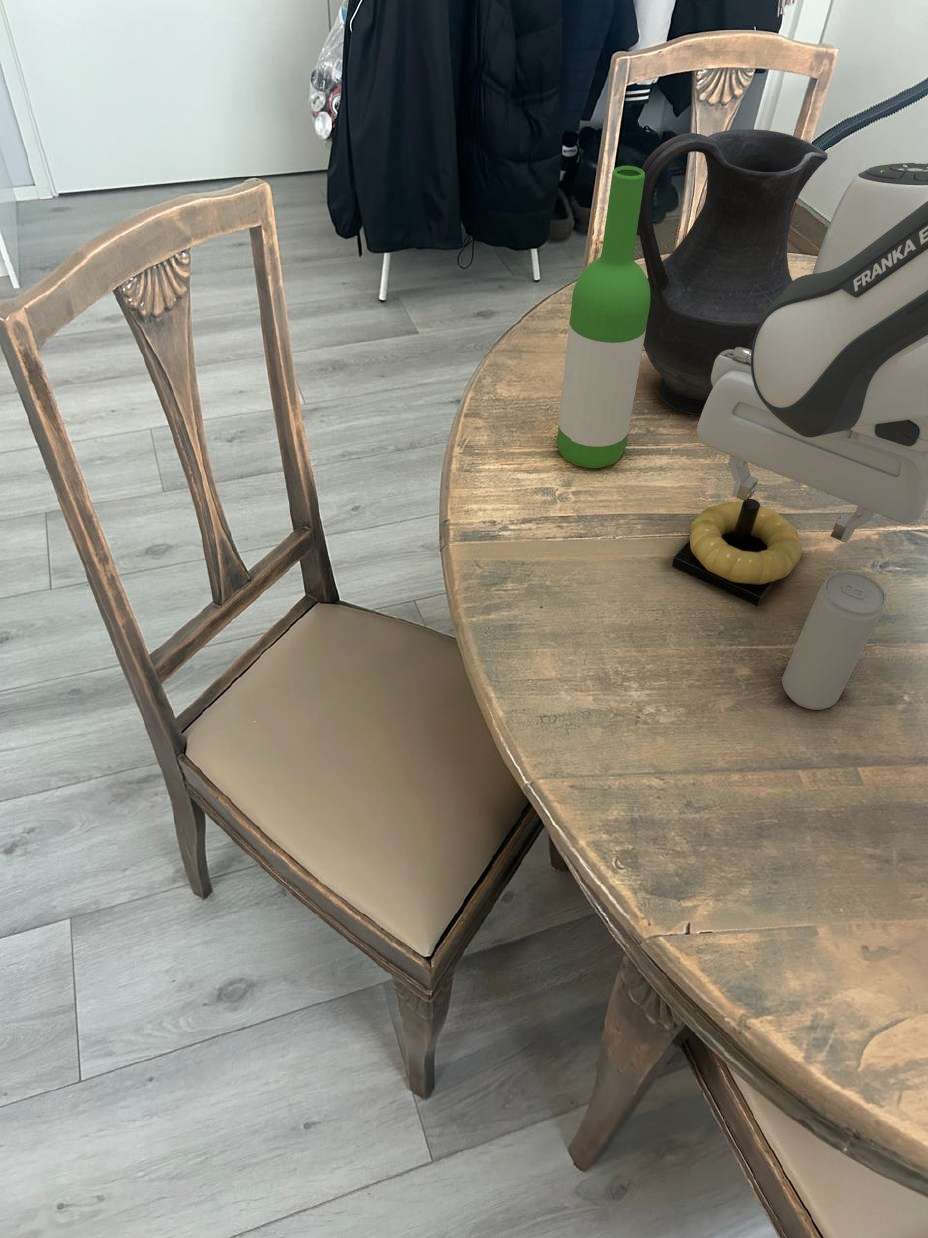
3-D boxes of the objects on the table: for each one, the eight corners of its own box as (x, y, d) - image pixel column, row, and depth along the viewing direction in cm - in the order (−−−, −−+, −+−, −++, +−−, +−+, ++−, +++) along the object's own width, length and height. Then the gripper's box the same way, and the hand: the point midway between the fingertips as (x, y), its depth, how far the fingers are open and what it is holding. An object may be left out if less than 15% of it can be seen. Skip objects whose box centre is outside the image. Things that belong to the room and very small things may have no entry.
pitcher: (795, 422, 104) (885, 150, 82) (634, 450, 100) (685, 169, 78) (725, 351, 115) (788, 95, 94) (578, 373, 111) (609, 110, 90)
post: (794, 555, 87) (816, 498, 82) (756, 606, 82) (777, 548, 77) (712, 520, 91) (728, 463, 86) (671, 566, 86) (685, 508, 81)
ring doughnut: (812, 547, 86) (821, 523, 84) (769, 606, 81) (777, 582, 79) (715, 506, 91) (722, 483, 89) (668, 559, 85) (673, 536, 83)
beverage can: (825, 722, 73) (875, 622, 64) (770, 695, 75) (812, 594, 66) (845, 687, 76) (897, 587, 67) (792, 661, 78) (836, 560, 69)
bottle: (596, 425, 103) (636, 150, 82) (638, 459, 98) (691, 177, 77) (542, 444, 100) (567, 164, 79) (582, 480, 96) (621, 193, 74)
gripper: (703, 354, 72) (672, 488, 82) (957, 443, 64) (888, 581, 74) (736, 325, 76) (702, 457, 86) (981, 406, 67) (912, 542, 77)
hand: (790, 515), depth 80 cm, fingers open, 8 cm apart
